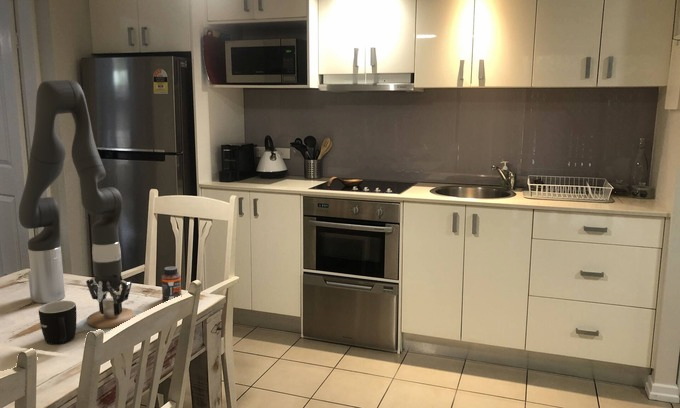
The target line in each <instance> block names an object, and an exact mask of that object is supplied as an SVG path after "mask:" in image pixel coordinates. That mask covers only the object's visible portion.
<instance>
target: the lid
mask: <svg viewBox="0 0 680 408" xmlns="http://www.w3.org/2000/svg"><path fill="white" fill-rule="evenodd" d="M134 311H135V310H133V309H131V308H128V307H127V308H125V307H122V312H121V314H120V315H118V316H115V315H114V301H113V297H111V296H110V297H106V299H104V300H103V312H104V314H101V312H100V310H98V311H95V312H93V313H90V314H89V315H88V316H87V317H86V318H87V324H88V326H90V327H92V328H96V329H110V328H115V327H117V326H119V325H120V324H122V323H124V322H126V321H128V320H130V319H131V318H133V317H135V312H134Z"/></svg>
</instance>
